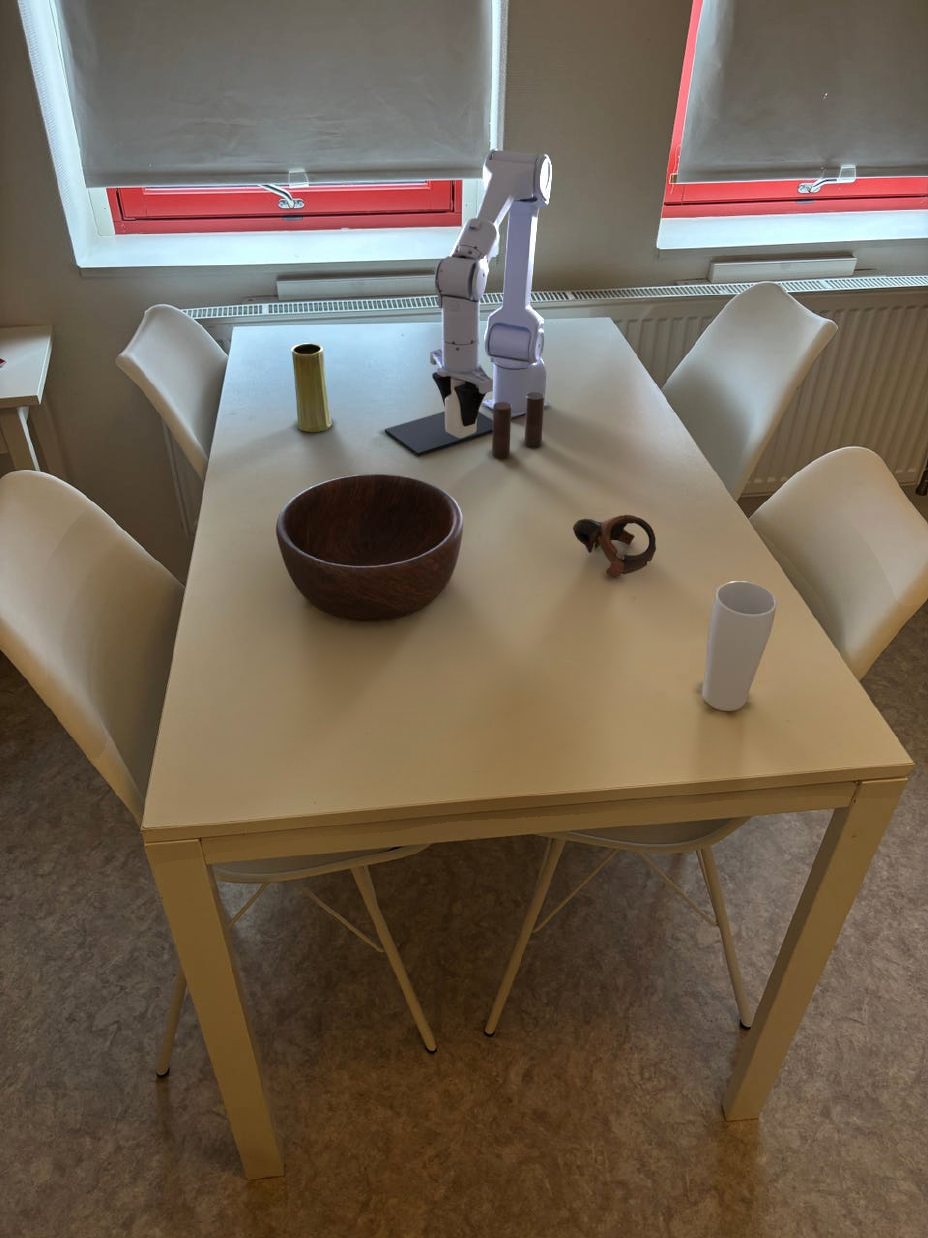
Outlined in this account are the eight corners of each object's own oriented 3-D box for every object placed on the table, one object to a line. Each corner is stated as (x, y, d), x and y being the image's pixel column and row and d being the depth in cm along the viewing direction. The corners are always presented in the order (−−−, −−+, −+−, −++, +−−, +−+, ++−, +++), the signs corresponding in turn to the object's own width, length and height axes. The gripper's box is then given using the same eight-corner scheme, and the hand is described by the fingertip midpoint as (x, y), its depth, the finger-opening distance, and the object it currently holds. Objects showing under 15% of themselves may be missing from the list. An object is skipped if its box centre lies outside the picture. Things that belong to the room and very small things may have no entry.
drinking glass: (688, 681, 118) (707, 581, 109) (742, 678, 118) (765, 578, 109) (703, 719, 112) (725, 617, 103) (760, 716, 113) (786, 614, 104)
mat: (467, 407, 179) (467, 404, 179) (502, 429, 172) (502, 426, 172) (384, 432, 171) (384, 428, 171) (418, 456, 164) (418, 453, 163)
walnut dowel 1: (502, 448, 166) (504, 400, 161) (513, 455, 164) (514, 406, 159) (488, 453, 165) (489, 404, 159) (498, 460, 163) (500, 411, 157)
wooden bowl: (264, 554, 140) (255, 492, 133) (424, 519, 148) (423, 459, 141) (312, 655, 121) (304, 588, 115) (492, 608, 129) (494, 544, 123)
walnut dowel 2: (534, 438, 169) (536, 390, 164) (545, 444, 167) (548, 396, 162) (520, 442, 168) (523, 394, 162) (531, 449, 166) (533, 400, 160)
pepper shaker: (459, 440, 155) (459, 385, 149) (443, 431, 158) (443, 377, 152) (478, 433, 157) (478, 378, 152) (461, 424, 160) (462, 370, 154)
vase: (334, 418, 175) (328, 342, 166) (327, 433, 170) (320, 356, 162) (301, 416, 176) (293, 341, 167) (293, 431, 171) (285, 354, 162)
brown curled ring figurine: (649, 545, 143) (667, 518, 135) (635, 599, 139) (653, 575, 131) (573, 519, 143) (587, 491, 135) (556, 572, 139) (570, 547, 131)
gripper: (413, 328, 151) (415, 409, 159) (466, 359, 141) (466, 442, 150) (450, 319, 154) (450, 398, 162) (504, 348, 144) (502, 430, 153)
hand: (460, 419), depth 156 cm, fingers closed on pepper shaker, 4 cm apart
